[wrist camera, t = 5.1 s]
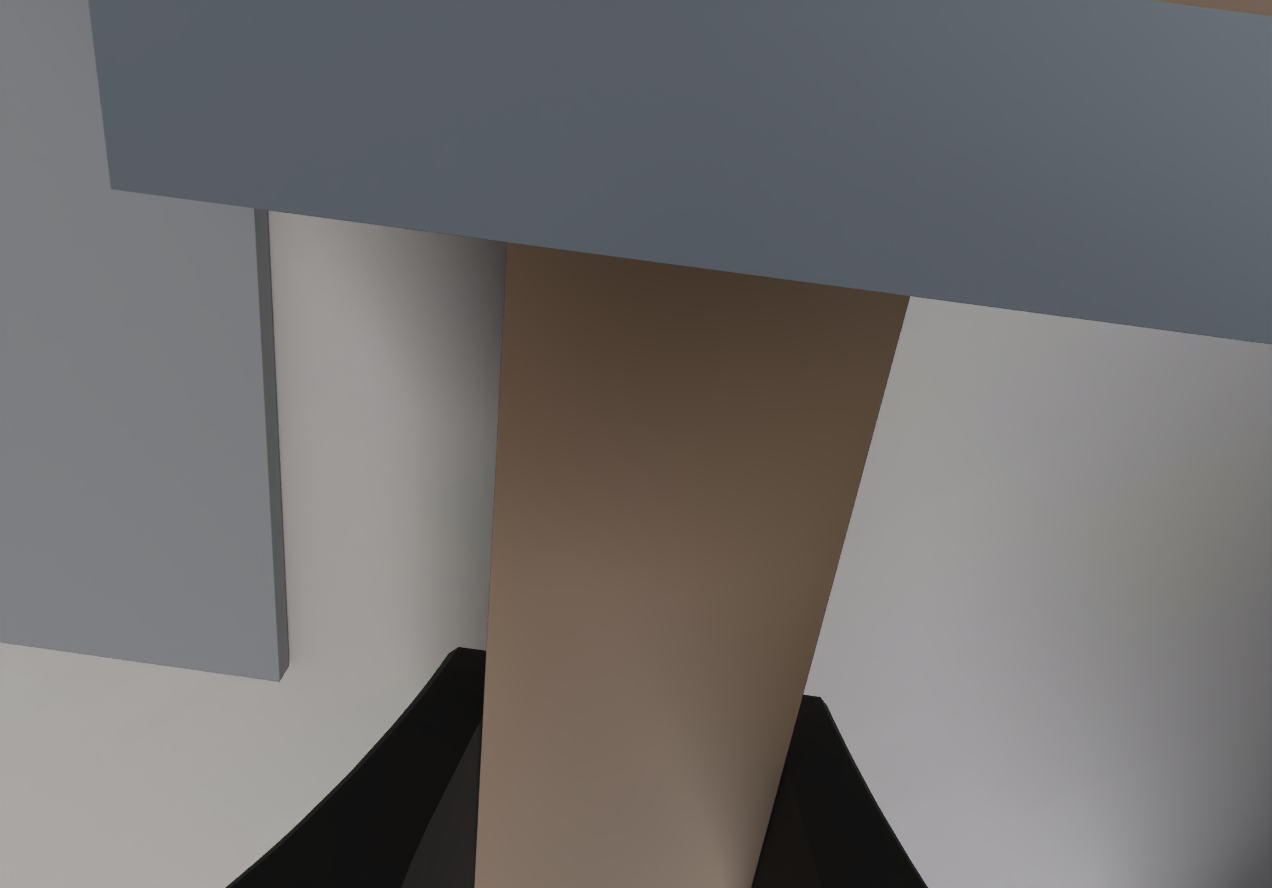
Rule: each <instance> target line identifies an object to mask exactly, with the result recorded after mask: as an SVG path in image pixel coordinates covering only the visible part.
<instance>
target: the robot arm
mask: <svg viewBox="0 0 1272 888" xmlns="http://www.w3.org/2000/svg"><path fill="white" fill-rule="evenodd" d="M485 669H486V651H484V650H477V649H469V648H462V647H458V648H456V649H455V650H453V651H452V652H450V653H449V654H448V655H447V657H446V658H445V660H444V661H443V662H442V664H441V665H440V667H439V668H438V669H437V671H436V672H435V673H434V675H433V676H432V677H431V679H430V680H429V681H428V683H427V684H426V685H425V687H424V688H423V689H422V690H421V692H420V693H419V694H418V695H417V697H416V698H415V699H414V700H413V702H412V703H411V704H410V705H409V706H408V708H407V709H406V710H405V711H404V712H403V714H402V715H401V716H400V717H399V718H398V720H397V721H396V722H395V723H394V724H393V726H392V727H391V728H390V729H389V730H388V731H387V732H386V733H385V734H384V736H383V737H382V738H381V739H380V740H379V741H378V742H377V743H376V744H375V745H374V747H373V748H372V749H371V750H370V751H369V752H368V753H367V754H366V755H365V757H364V758H363V759H362V760H361V761H360V762H359V763H358V764H357V765H356V767H355V768H354V769H353V770H352V771H351V772H350V773H349V774H348V775H347V776H346V777H345V778H344V779H343V780H342V781H341V782H340V783H339V784H338V785H337V786H336V787H335V788H334V789H333V790H332V791H331V792H330V793H329V794H328V795H327V796H326V797H325V798H324V799H323V800H322V801H321V802H320V803H319V804H318V805H317V806H316V807H315V808H314V809H313V810H312V811H311V812H310V813H309V814H308V815H307V816H306V817H305V818H304V819H303V820H302V821H301V822H300V823H299V824H297V825H296V826H295V827H294V828H293V829H292V830H291V831H290V832H289V833H288V834H287V835H286V836H284V837H283V838H282V839H281V840H280V841H279V842H278V843H277V844H276V845H275V846H274V847H272V848H271V849H270V850H269V851H268V852H267V853H266V854H265V855H263V856H262V857H261V858H260V859H259V860H258V861H257V862H255V863H254V864H253V865H252V866H251V867H249V868H248V869H247V870H246V871H245V872H244V873H242V874H241V875H240V876H239V877H238V878H236V879H235V880H234V881H233V882H232V883H230V884H229V885H228V886H227V887H226V888H474V886H475V867H476V847H477V827H478V807H479V788H480V768H481V748H482V728H483V709H484V689H485ZM751 888H928V887H927V885H926V884H925V882H924V881H923V879H922V878H921V876H920V874H919V873H918V871H917V870H916V868H915V867H914V865H913V863H912V862H911V860H910V859H909V857H908V855H907V854H906V852H905V850H904V848H903V847H902V845H901V843H900V842H899V840H898V838H897V837H896V835H895V833H894V832H893V830H892V828H891V827H890V825H889V823H888V822H887V820H886V818H885V816H884V815H883V813H882V811H881V810H880V808H879V806H878V804H877V802H876V801H875V799H874V797H873V795H872V794H871V792H870V790H869V788H868V786H867V784H866V782H865V781H864V779H863V777H862V775H861V773H860V771H859V769H858V767H857V766H856V764H855V762H854V760H853V758H852V756H851V754H850V752H849V750H848V748H847V746H846V744H845V742H844V740H843V738H842V736H841V734H840V732H839V730H838V728H837V726H836V724H835V722H834V720H833V717H832V715H831V713H830V711H829V709H828V707H827V705H826V704H825V703H824V701H823V700H822V699H821V697H816V696H809V695H803V696H802V700H801V704H800V708H799V711H798V715H797V719H796V722H795V726H794V730H793V734H792V737H791V741H790V745H789V748H788V752H787V756H786V760H785V763H784V767H783V771H782V774H781V778H780V782H779V786H778V789H777V793H776V797H775V801H774V804H773V808H772V812H771V815H770V819H769V823H768V827H767V830H766V834H765V838H764V841H763V845H762V849H761V853H760V856H759V860H758V864H757V867H756V871H755V875H754V879H753V882H752V886H751Z"/></svg>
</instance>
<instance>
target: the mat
mask: <svg viewBox="0 0 1272 888" xmlns="http://www.w3.org/2000/svg"><path fill="white" fill-rule="evenodd" d="M0 642H1V643H8V644H15V645H22V646H29V647H37V648H44V649H51V650H58V651H65V652H72V653H79V654H86V655H93V656H100V657H107V658H114V659H121V660H129V661H136V662H143V663H150V664H157V665H164V666H171V667H178V668H185V669H192V670H199V671H206V672H213V673H220V674H228V675H235V676H242V677H249V678H256V679H263V680H270V681H277V682H280V680H281V679H282V677H283V675H284V673H285V672H286V670H287V668H288V667H289V652H288V631H287V610H286V589H285V568H284V548H283V527H282V506H281V485H280V464H279V443H278V423H277V402H276V381H275V360H274V339H273V318H272V298H271V277H270V256H269V235H268V214H267V210H263V209H255V208H248V207H240V206H233V205H225V204H218V203H210V202H203V201H195V200H188V199H181V198H173V197H166V196H158V195H151V194H143V193H136V192H128V191H121V190H113V189H111V185H110V177H109V169H108V160H107V152H106V144H105V135H104V127H103V119H102V111H101V102H100V94H99V86H98V77H97V69H96V61H95V53H94V44H93V36H92V28H91V19H90V11H89V3H88V0H0Z"/></svg>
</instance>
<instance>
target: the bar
mask: <svg viewBox="0 0 1272 888" xmlns="http://www.w3.org/2000/svg"><path fill="white" fill-rule="evenodd" d="M909 298H910V296H906V295H899V294H891V293H884V292H876V291H869V290H861V289H854V288H846V287H839V286H831V285H824V284H817V283H809V282H802V281H794V280H787V279H779V278H772V277H764V276H757V275H749V274H742V273H734V272H727V271H719V270H712V269H704V268H697V267H689V266H682V265H674V264H667V263H659V262H652V261H644V260H637V259H629V258H622V257H615V256H607V255H600V254H592V253H585V252H577V251H570V250H562V249H555V248H547V247H540V246H532V245H525V244H517V243H510V242H507V254H506V274H505V294H504V313H503V333H502V353H501V373H500V392H499V412H498V432H497V452H496V471H495V491H494V511H493V531H492V551H491V570H490V590H489V610H488V630H487V649H486V669H485V689H484V709H483V728H482V748H481V768H480V788H479V807H478V827H477V847H476V867H475V886H474V888H751V886H752V882H753V879H754V875H755V871H756V867H757V864H758V860H759V856H760V853H761V849H762V845H763V841H764V838H765V834H766V830H767V827H768V823H769V819H770V815H771V812H772V808H773V804H774V801H775V797H776V793H777V789H778V786H779V782H780V778H781V774H782V771H783V767H784V763H785V760H786V756H787V752H788V748H789V745H790V741H791V737H792V734H793V730H794V726H795V722H796V719H797V715H798V711H799V708H800V704H801V700H802V696H803V693H804V689H805V685H806V682H807V678H808V674H809V670H810V667H811V663H812V659H813V655H814V652H815V648H816V644H817V641H818V637H819V633H820V629H821V626H822V622H823V618H824V615H825V611H826V607H827V603H828V600H829V596H830V592H831V589H832V585H833V581H834V577H835V574H836V570H837V566H838V562H839V559H840V555H841V551H842V548H843V544H844V540H845V536H846V533H847V529H848V525H849V522H850V518H851V514H852V510H853V507H854V503H855V499H856V496H857V492H858V488H859V484H860V481H861V477H862V473H863V470H864V466H865V462H866V458H867V455H868V451H869V447H870V443H871V440H872V436H873V432H874V429H875V425H876V421H877V417H878V414H879V410H880V406H881V403H882V399H883V395H884V391H885V388H886V384H887V380H888V377H889V373H890V369H891V365H892V362H893V358H894V354H895V350H896V347H897V343H898V339H899V336H900V332H901V328H902V324H903V321H904V317H905V313H906V310H907V306H908V302H909Z"/></svg>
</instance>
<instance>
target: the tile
mask: <svg viewBox="0 0 1272 888" xmlns="http://www.w3.org/2000/svg"><path fill="white" fill-rule="evenodd" d="M88 3H89V11H90V19H91V28H92V36H93V44H94V53H95V61H96V69H97V77H98V86H99V94H100V102H101V111H102V119H103V127H104V135H105V144H106V152H107V160H108V169H109V177H110V185H111V189H113V190H121V191H128V192H136V193H143V194H151V195H158V196H166V197H173V198H181V199H188V200H195V201H203V202H210V203H218V204H225V205H233V206H240V207H248V208H255V209H263V210H270V211H278V212H285V213H293V214H300V215H308V216H315V217H323V218H330V219H338V220H345V221H353V222H360V223H368V224H375V225H383V226H390V227H398V228H405V229H412V230H420V231H427V232H435V233H442V234H450V235H457V236H465V237H472V238H480V239H487V240H495V241H502V242H510V243H517V244H525V245H532V246H540V247H547V248H555V249H562V250H570V251H577V252H585V253H592V254H600V255H607V256H615V257H622V258H629V259H637V260H644V261H652V262H659V263H667V264H674V265H682V266H689V267H697V268H704V269H712V270H719V271H727V272H734V273H742V274H749V275H757V276H764V277H772V278H779V279H787V280H794V281H802V282H809V283H817V284H824V285H831V286H839V287H846V288H854V289H861V290H869V291H876V292H884V293H891V294H899V295H906V296H914V297H921V298H929V299H936V300H944V301H951V302H959V303H966V304H974V305H981V306H989V307H996V308H1004V309H1011V310H1019V311H1026V312H1034V313H1041V314H1048V315H1056V316H1063V317H1071V318H1078V319H1086V320H1093V321H1101V322H1108V323H1116V324H1123V325H1131V326H1138V327H1146V328H1153V329H1161V330H1168V331H1176V332H1183V333H1191V334H1198V335H1206V336H1213V337H1221V338H1228V339H1236V340H1243V341H1251V342H1258V343H1265V344H1272V0H88Z"/></svg>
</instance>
